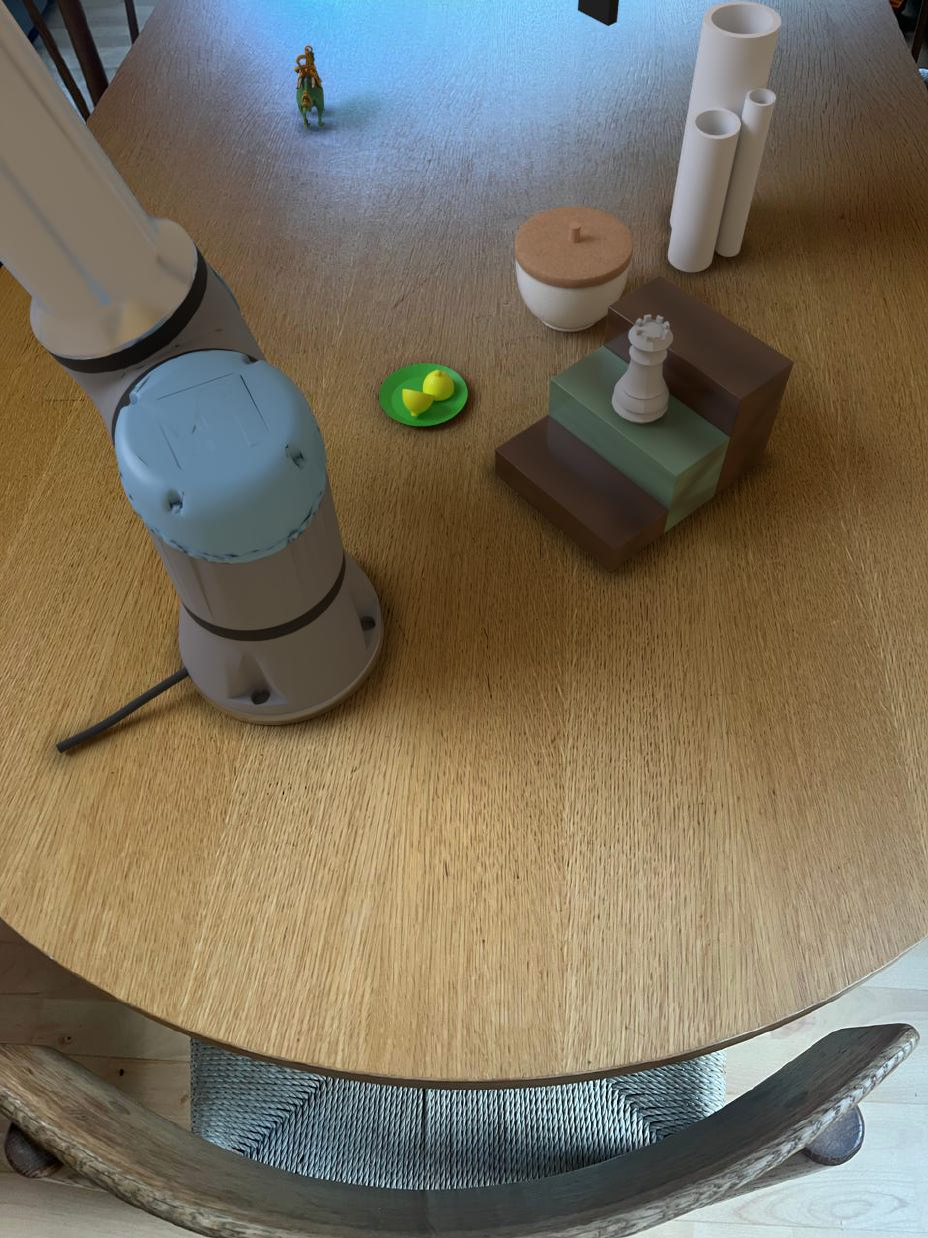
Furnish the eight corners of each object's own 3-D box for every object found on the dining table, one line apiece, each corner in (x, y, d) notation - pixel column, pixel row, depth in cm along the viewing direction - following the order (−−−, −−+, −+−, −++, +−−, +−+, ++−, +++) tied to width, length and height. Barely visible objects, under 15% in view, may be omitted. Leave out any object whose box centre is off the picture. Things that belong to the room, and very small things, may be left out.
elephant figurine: (330, 96, 117) (319, 23, 110) (325, 154, 110) (313, 80, 103) (304, 97, 117) (292, 25, 110) (297, 155, 110) (284, 82, 103)
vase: (669, 202, 104) (702, -1, 87) (739, 206, 103) (785, 2, 86) (667, 270, 98) (701, 66, 81) (740, 275, 97) (791, 69, 80)
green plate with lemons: (452, 438, 86) (451, 415, 84) (367, 421, 87) (363, 397, 85) (478, 377, 90) (478, 353, 88) (396, 361, 92) (393, 337, 89)
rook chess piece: (670, 426, 77) (686, 346, 70) (612, 427, 77) (623, 347, 70) (664, 386, 79) (680, 304, 72) (608, 386, 79) (619, 305, 72)
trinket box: (617, 354, 91) (629, 269, 83) (504, 341, 93) (505, 256, 85) (630, 281, 97) (642, 194, 89) (523, 270, 98) (525, 183, 91)
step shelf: (610, 573, 78) (625, 480, 68) (494, 473, 84) (494, 375, 74) (762, 460, 84) (794, 361, 74) (643, 375, 90) (660, 273, 81)
